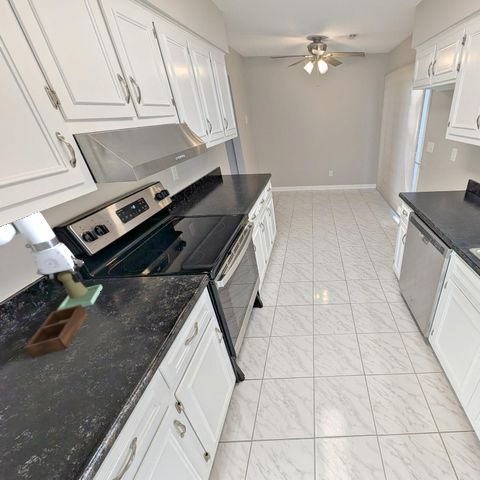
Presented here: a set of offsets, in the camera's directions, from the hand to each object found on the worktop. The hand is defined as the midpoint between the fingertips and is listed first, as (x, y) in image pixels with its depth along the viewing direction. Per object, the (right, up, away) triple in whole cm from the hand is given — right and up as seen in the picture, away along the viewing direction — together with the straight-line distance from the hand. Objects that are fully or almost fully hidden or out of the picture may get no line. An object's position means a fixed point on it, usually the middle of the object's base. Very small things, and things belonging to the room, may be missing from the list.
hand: (70, 282), depth 103 cm
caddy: (+9, -17, -12) cm, 23 cm away
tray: (+1, -8, +4) cm, 9 cm away
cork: (0, -5, +3) cm, 6 cm away
